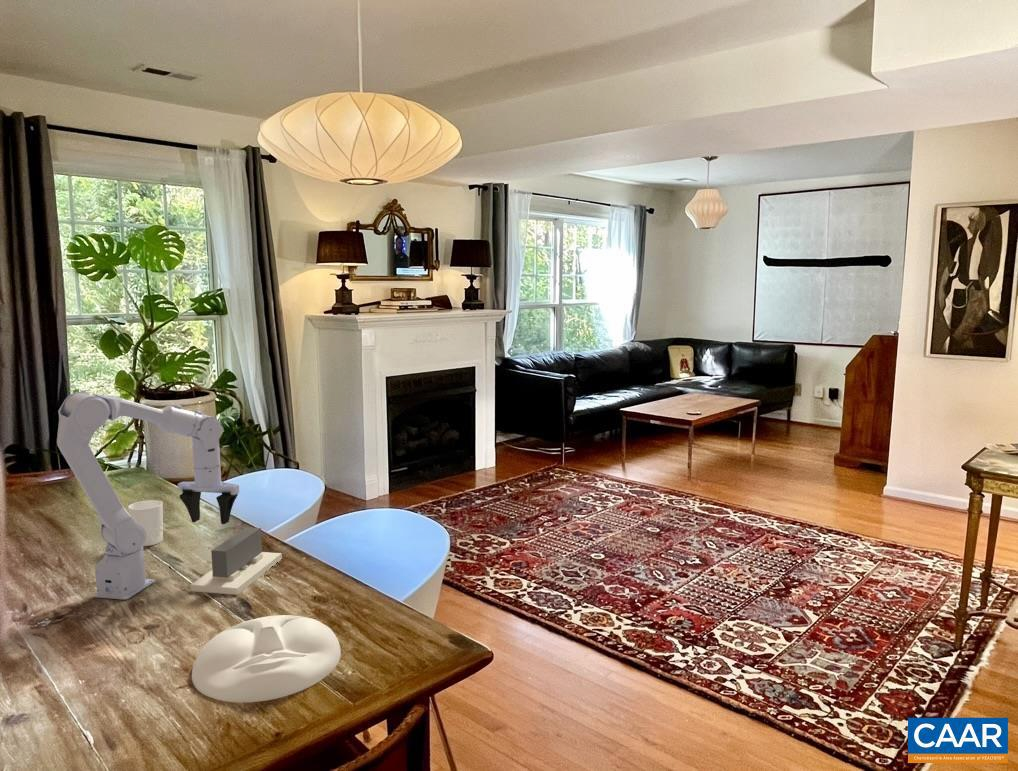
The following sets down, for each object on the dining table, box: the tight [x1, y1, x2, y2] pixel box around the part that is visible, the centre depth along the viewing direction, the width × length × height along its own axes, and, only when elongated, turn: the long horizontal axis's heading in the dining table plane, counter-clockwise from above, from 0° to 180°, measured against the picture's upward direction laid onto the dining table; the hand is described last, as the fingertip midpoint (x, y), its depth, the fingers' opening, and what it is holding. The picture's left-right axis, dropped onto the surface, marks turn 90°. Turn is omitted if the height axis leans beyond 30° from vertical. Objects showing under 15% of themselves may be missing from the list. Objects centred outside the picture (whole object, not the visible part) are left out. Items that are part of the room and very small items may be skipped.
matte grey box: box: [210, 526, 263, 578], centre depth 161 cm, size 15×4×6 cm, turn 171°
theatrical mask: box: [191, 614, 342, 703], centre depth 124 cm, size 25×8×25 cm
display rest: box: [190, 551, 283, 596], centre depth 161 cm, size 20×11×2 cm, turn 171°
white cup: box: [127, 499, 164, 547], centre depth 181 cm, size 8×8×10 cm
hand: (210, 521), depth 166 cm, fingers open, 7 cm apart
